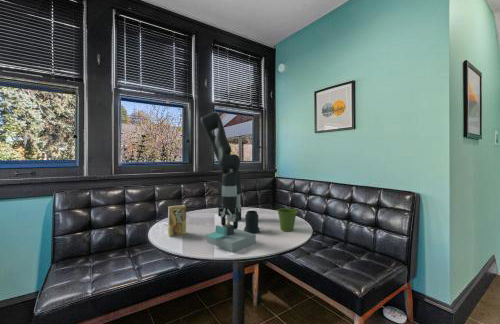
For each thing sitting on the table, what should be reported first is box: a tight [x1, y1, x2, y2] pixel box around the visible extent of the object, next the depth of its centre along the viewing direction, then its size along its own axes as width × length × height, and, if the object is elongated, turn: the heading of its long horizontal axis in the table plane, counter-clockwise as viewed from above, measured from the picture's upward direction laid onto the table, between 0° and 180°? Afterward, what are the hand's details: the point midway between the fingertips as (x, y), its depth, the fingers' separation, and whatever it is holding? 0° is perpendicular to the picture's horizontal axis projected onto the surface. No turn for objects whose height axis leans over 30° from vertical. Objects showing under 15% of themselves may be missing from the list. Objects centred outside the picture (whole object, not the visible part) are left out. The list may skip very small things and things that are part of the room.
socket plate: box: [206, 228, 257, 253], centre depth 111 cm, size 16×18×4 cm
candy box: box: [167, 204, 187, 237], centre depth 123 cm, size 9×4×15 cm, turn 119°
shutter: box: [205, 224, 227, 240], centre depth 107 cm, size 7×7×4 cm
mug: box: [243, 210, 261, 234], centre depth 130 cm, size 12×9×11 cm
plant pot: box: [276, 208, 298, 232], centre depth 132 cm, size 12×12×11 cm
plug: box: [222, 220, 234, 236], centre depth 113 cm, size 4×4×10 cm
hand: (229, 227), depth 113 cm, fingers open, 8 cm apart
